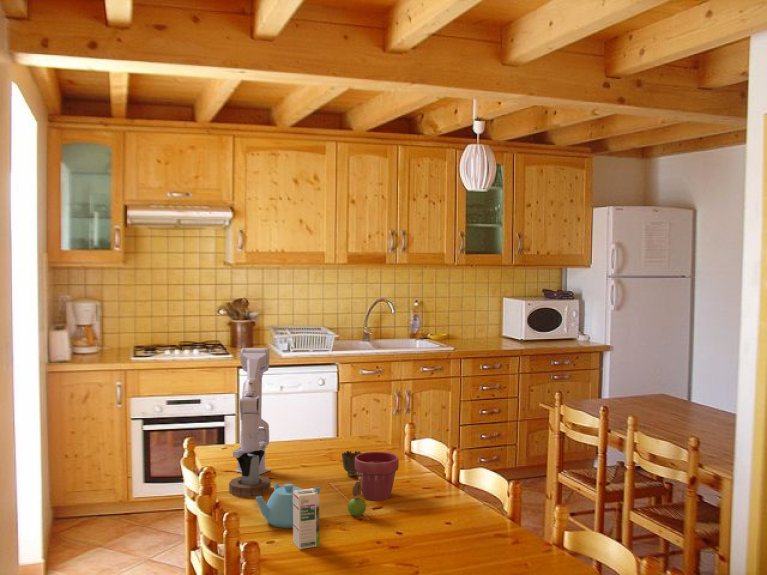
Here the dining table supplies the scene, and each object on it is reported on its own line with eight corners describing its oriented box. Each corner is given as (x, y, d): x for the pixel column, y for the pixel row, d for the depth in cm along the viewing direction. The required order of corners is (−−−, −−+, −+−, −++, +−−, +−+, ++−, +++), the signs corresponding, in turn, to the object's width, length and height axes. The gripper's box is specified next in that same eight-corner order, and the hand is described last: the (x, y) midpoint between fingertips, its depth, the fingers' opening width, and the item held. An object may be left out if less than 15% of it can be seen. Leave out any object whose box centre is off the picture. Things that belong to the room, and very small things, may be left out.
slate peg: (241, 486, 246) (241, 456, 246) (249, 483, 250) (249, 453, 249) (251, 488, 244) (251, 458, 244) (259, 485, 248) (259, 455, 247)
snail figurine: (369, 512, 227) (369, 473, 227) (362, 520, 221) (362, 479, 221) (352, 510, 229) (353, 471, 229) (344, 517, 223) (345, 477, 222)
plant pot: (360, 487, 251) (360, 449, 251) (401, 490, 248) (402, 452, 248) (349, 501, 237) (349, 461, 237) (393, 505, 234) (394, 464, 234)
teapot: (252, 526, 215) (252, 489, 215) (274, 509, 230) (274, 474, 229) (301, 533, 211) (301, 495, 210) (321, 515, 225) (321, 479, 225)
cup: (364, 473, 267) (364, 450, 267) (361, 479, 260) (361, 456, 259) (343, 472, 268) (343, 450, 268) (340, 478, 261) (340, 455, 260)
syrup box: (299, 550, 199) (299, 496, 198) (292, 542, 204) (292, 489, 204) (319, 546, 201) (319, 493, 200) (312, 539, 207) (312, 486, 206)
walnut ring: (221, 492, 245) (221, 483, 245) (247, 482, 256) (247, 473, 256) (252, 499, 238) (252, 490, 238) (278, 488, 249) (278, 479, 249)
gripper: (244, 439, 238) (244, 482, 239) (273, 430, 250) (273, 470, 251) (227, 436, 241) (227, 478, 242) (257, 427, 254) (257, 467, 255)
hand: (250, 474), depth 247 cm, fingers closed on slate peg, 4 cm apart
